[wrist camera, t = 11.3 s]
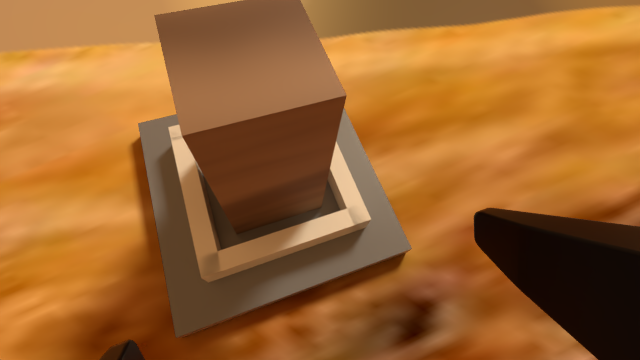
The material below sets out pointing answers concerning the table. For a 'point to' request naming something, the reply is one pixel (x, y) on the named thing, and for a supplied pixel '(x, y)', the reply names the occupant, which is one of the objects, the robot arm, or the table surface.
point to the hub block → (254, 105)
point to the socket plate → (260, 232)
